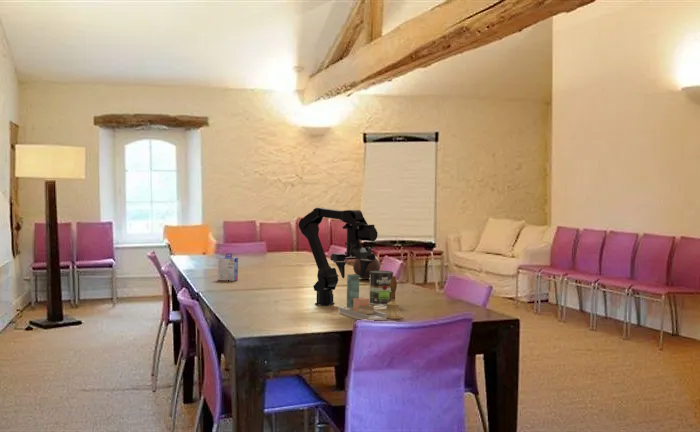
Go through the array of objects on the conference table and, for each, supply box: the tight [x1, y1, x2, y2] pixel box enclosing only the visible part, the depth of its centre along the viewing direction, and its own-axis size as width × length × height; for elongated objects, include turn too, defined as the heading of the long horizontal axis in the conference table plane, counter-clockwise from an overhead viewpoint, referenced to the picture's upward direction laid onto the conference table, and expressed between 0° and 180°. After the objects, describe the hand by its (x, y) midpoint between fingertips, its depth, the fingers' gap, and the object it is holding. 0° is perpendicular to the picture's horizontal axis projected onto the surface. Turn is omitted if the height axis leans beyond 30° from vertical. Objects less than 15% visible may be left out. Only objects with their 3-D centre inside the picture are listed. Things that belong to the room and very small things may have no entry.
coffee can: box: [368, 270, 394, 306], centre depth 296 cm, size 10×10×14 cm
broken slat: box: [373, 305, 386, 312], centre depth 273 cm, size 8×6×1 cm
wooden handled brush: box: [385, 275, 404, 320], centre depth 265 cm, size 8×8×16 cm
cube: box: [353, 296, 370, 311], centre depth 265 cm, size 4×4×4 cm
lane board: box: [338, 305, 387, 321], centre depth 267 cm, size 20×19×2 cm
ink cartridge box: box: [217, 252, 239, 282], centre depth 368 cm, size 10×6×14 cm, turn 77°
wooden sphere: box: [352, 256, 381, 280], centre depth 379 cm, size 15×15×15 cm
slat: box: [343, 273, 375, 315], centre depth 267 cm, size 12×6×14 cm, turn 30°
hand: (352, 277), depth 282 cm, fingers open, 9 cm apart
